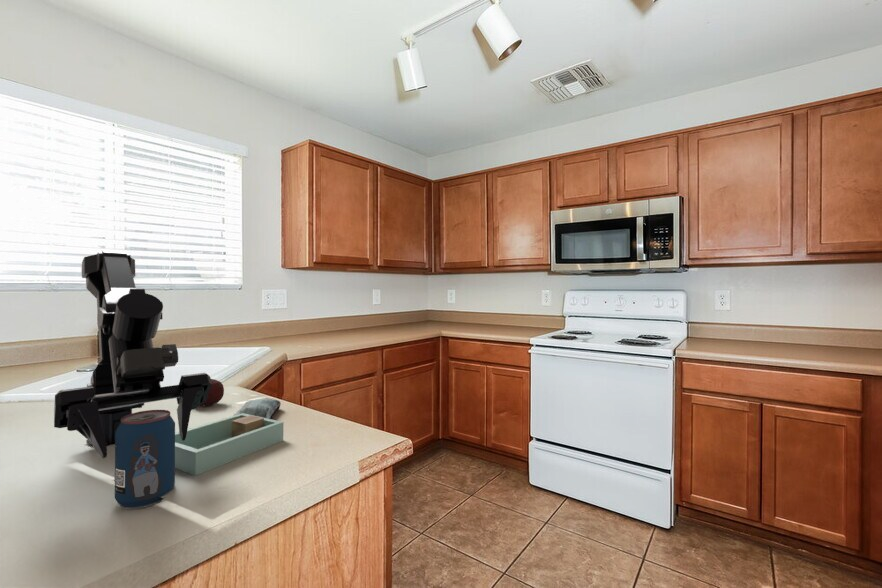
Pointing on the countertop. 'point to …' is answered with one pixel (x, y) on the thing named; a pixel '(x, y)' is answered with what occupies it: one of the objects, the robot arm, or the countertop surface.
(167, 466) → the soda can
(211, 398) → the potato
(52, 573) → the countertop surface
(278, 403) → the packaged food
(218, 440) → the tray
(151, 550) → the countertop surface
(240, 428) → the walnut block
